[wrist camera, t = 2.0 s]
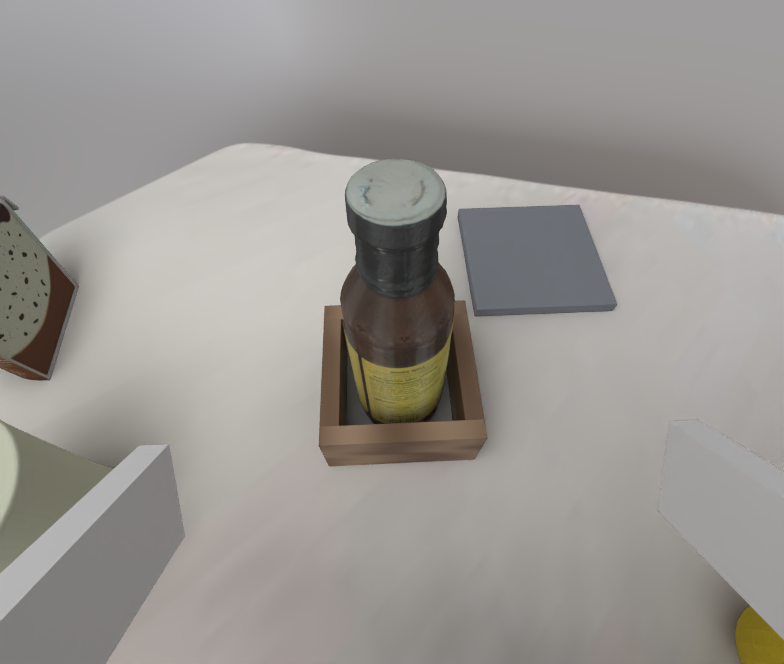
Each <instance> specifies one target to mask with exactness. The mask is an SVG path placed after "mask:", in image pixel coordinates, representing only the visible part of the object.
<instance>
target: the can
mask: <svg viewBox="0 0 784 664" xmlns="http://www.w3.org/2000/svg"><path fill="white" fill-rule="evenodd" d="M113 469H114V468H112V467H109V466H104V465H99V464H97V463H94V462H92V461H89V460H87V459H85V458H82V457H80V456H78V455H75V454H73V453H71V452H68V451H66V450H64V449H62V448H59V447H57V446H55V445H52V444H50V443H48V442H46V441H43V440H41V439H39V438H37V437H34V436H32V435H30V434H28V433H26V432H24V431H21V430H19V429H17V428H15V427H13V426H11V425H9V424H7V423H5V422H3V421H1V420H0V573H1V572H2V571H4V570H5V569H6V568H7V567H8V566H9V565H10V564H11V563H12V562H13V561H14V560H15V559H17V558H18V557H19V556H20V555H21V554H22V553H23V552H24V551H25V550H26V549H27V548H28V547H30V546H31V545H32V544H33V543H34V542H35V541H36V540H37V539H38V538H39V537H40V536H41V535H43V534H44V533H45V532H46V531H47V530H48V529H49V528H50V527H51V526H52V525H53V524H54V523H56V522H57V521H58V520H59V519H60V518H61V517H62V516H63V515H64V514H65V513H66V512H67V511H69V510H70V509H71V508H72V507H73V506H74V505H75V504H76V503H77V502H78V501H79V500H80V499H82V498H83V497H84V496H85V495H86V494H87V493H88V492H89V491H90V490H91V489H92V488H93V487H95V486H96V485H97V484H98V483H99V482H100V481H101V480H102V479H103V478H104V477H105V476H106V475H108V474H109V473H110V472H111V471H112V470H113Z"/></svg>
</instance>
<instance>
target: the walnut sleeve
mask: <svg viewBox="0 0 784 664" xmlns="http://www.w3.org/2000/svg"><path fill="white" fill-rule="evenodd" d="M454 304H455V315H454V323H453V331H452V334H451V341H450V349H449V356H448V362H447V367H446V369H447V377H448V385H449V393H450V402H451V410H452V418H453V421H438V422H415V423H393V424H370V425H348V426H346V407H347V352H349V351H348V346H347V341H346V337H345V332H344V325H343V324H344V318H343V314H342V308H341V305H336V306H325V311H324V334H323V358H322V382H321V405H320V429H319V447H320V449H321V451H322V453H323V455H324V457H325V459H326V461H327V463H328V465H329V466H343V465H365V464H386V463H408V462H429V461H451V460H473V459H475V457H476V456H477V454H478V453H479V451H480V449H481V448H482V446H483V444H484V443H485V441H486V439H487V433H486V427H485V421H484V414H483V408H482V402H481V396H480V390H479V384H478V377H477V371H476V365H475V359H474V353H473V346H472V340H471V334H470V328H469V322H468V316H467V309H466V303H465V301H455V302H454Z"/></svg>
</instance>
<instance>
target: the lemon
mask: <svg viewBox="0 0 784 664" xmlns="http://www.w3.org/2000/svg"><path fill="white" fill-rule="evenodd" d="M735 644H736V648H737V652H738V656H739V658H740V660H741V662H742V664H784V640H783V639H782V638H781V637H780V636H779V635H778V633H777V632H776V631H775V630H774V629H773V628H772V627H771V626H770V625H769V624H768V623H767V622H766V621H765V620H764V619H763V618H762V617H761V616H760V615H759V614H758V613H757V612H756V611H755V610H754V609H753V608H752V607H751V606H749V607H747V608H746V609H745V610H744V611H743V612H742V614H741V616H740V617H739V619H738V621H737V625H736V630H735Z"/></svg>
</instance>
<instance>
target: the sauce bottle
mask: <svg viewBox="0 0 784 664" xmlns="http://www.w3.org/2000/svg"><path fill="white" fill-rule="evenodd" d="M345 202H346V212H347V221H348V225H349V228H350V229H351V232H352V233H353V234H354V235H355V245H356V251H357V252H356V257H355V261H356V264H355V266H354V267H353V268H352V270H351V271H350V273H349V274H348V276H347V278H346V280H345V282H344V284H343V286H342V290H341V297H340V302H341V308H342V314H343V318H344V324H343V325H344V332H345V337H346V341H347V346H348V351H349V356H350V360H351V365H352V369H353V374H354V378H355V383H356V387H357V392H358V396H359V399H360V402H361V404H362V406H363V408H364V410H365V412H366V414H367V416H368V417H369V418H370V419H371V421H372V422H373V423H374V424H393V423H415V422H427V421H428V420H429V419H430V417H431V416H432V414H433V413H434V412H435V410H436V407H437V403H438V402H439V399H440V397H441V393H442V388H443V383H444V377H445V372H446V367H447V362H448V356H449V349H450V341H451V334H452V331H453V323H454V315H455V304H454V302H455V299H454V295H455V294H454V290H453V287H452V284H451V281H450V278H449V277H448V275H447V273H446V271H445V269H443V267H442V266H441V265H440V264H439V262H438V251H437V248H438V245H439V231H440V229H441V228H442V227H443V223H444V220H445V218H446V214H447V209H446V204H447V197H446V187H445V185H444V183H443V181H442V179H441V177H440V176H439V175H438V174H437V173H436V172H435V171H434V170H433V169H432V168H430V167H429V166H427V165H425V164H423V163H420V162H417V161H413V160H409V159H404V160H400V159H393V158H390V159H384V160H380V161H376V162H373V163H371V164H368V165H366V166H364V167H363V168H361V169H360V170H359V171H357V172H356V173H355V174H354V175H353V176H352V177H351V179H350V180H349V182H348V184H347V187H346V190H345Z"/></svg>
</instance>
